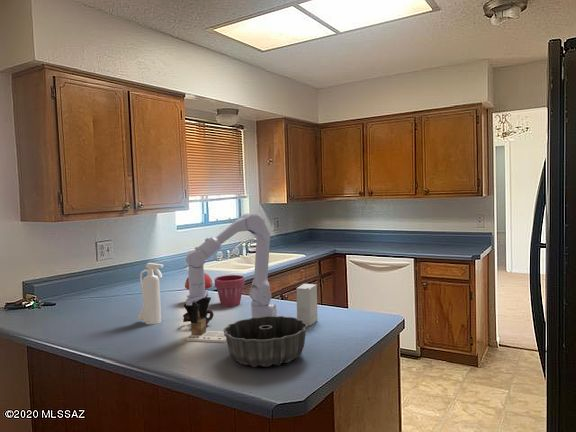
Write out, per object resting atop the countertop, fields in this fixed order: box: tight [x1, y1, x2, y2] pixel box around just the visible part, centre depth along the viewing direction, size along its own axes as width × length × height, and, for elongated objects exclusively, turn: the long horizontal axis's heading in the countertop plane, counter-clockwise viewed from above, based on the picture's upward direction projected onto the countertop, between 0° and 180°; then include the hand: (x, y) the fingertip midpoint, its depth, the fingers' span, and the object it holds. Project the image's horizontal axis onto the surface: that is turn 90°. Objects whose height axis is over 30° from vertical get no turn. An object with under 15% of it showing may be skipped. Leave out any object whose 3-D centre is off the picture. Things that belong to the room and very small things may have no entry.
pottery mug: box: [182, 309, 215, 328], centre depth 179 cm, size 12×10×8 cm
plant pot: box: [214, 274, 246, 307], centre depth 213 cm, size 14×14×13 cm
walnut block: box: [190, 318, 207, 335], centre depth 166 cm, size 4×4×5 cm
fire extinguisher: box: [137, 262, 165, 325], centre depth 186 cm, size 7×12×25 cm, turn 72°
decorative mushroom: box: [184, 272, 214, 291], centre depth 219 cm, size 13×13×15 cm
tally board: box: [185, 330, 227, 344], centre depth 164 cm, size 15×10×1 cm, turn 76°
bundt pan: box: [222, 315, 309, 368], centre depth 141 cm, size 26×26×10 cm
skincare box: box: [296, 283, 319, 327], centre depth 177 cm, size 8×6×15 cm
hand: (198, 319), depth 166 cm, fingers open, 7 cm apart
